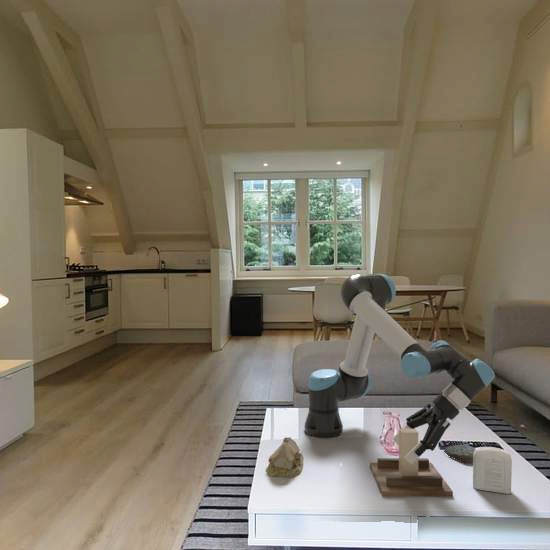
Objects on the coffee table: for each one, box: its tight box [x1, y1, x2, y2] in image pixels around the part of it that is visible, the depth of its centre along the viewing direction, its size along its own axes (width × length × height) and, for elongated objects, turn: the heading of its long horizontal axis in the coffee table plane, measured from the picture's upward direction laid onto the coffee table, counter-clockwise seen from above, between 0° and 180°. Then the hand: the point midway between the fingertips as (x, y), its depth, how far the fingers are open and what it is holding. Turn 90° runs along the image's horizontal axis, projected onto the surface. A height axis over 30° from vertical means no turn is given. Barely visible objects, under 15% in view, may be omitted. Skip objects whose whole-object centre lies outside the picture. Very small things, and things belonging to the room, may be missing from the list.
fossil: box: [443, 444, 476, 464], centre depth 151 cm, size 10×13×4 cm
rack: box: [369, 457, 454, 497], centre depth 134 cm, size 18×20×4 cm
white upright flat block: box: [472, 446, 513, 495], centre depth 129 cm, size 10×4×12 cm, turn 72°
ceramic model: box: [265, 436, 304, 479], centre depth 143 cm, size 14×11×10 cm
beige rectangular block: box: [398, 428, 419, 476], centre depth 134 cm, size 3×5×14 cm, turn 89°
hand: (400, 450), depth 134 cm, fingers open, 13 cm apart
